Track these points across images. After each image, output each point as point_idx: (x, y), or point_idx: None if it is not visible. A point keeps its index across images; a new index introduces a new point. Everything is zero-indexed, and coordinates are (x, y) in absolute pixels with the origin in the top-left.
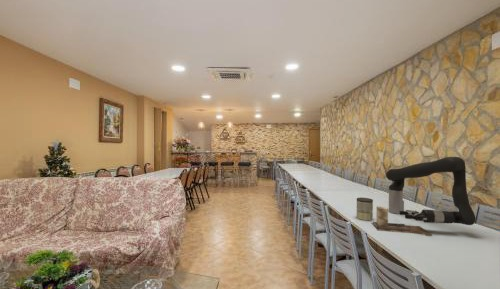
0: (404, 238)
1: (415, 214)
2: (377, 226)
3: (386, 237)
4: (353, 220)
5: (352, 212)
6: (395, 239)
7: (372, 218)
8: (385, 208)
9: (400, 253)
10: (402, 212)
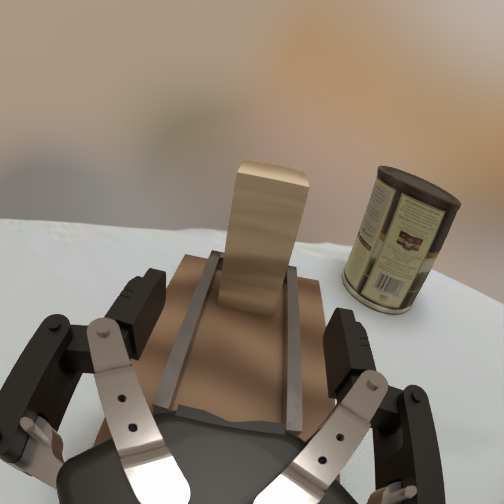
0: (70, 307)
1: (118, 367)
2: (211, 251)
3: (108, 253)
4: (338, 249)
5: (451, 284)
6: (77, 267)
7: (378, 297)
8: (252, 171)
9: (6, 225)
10: (337, 337)
